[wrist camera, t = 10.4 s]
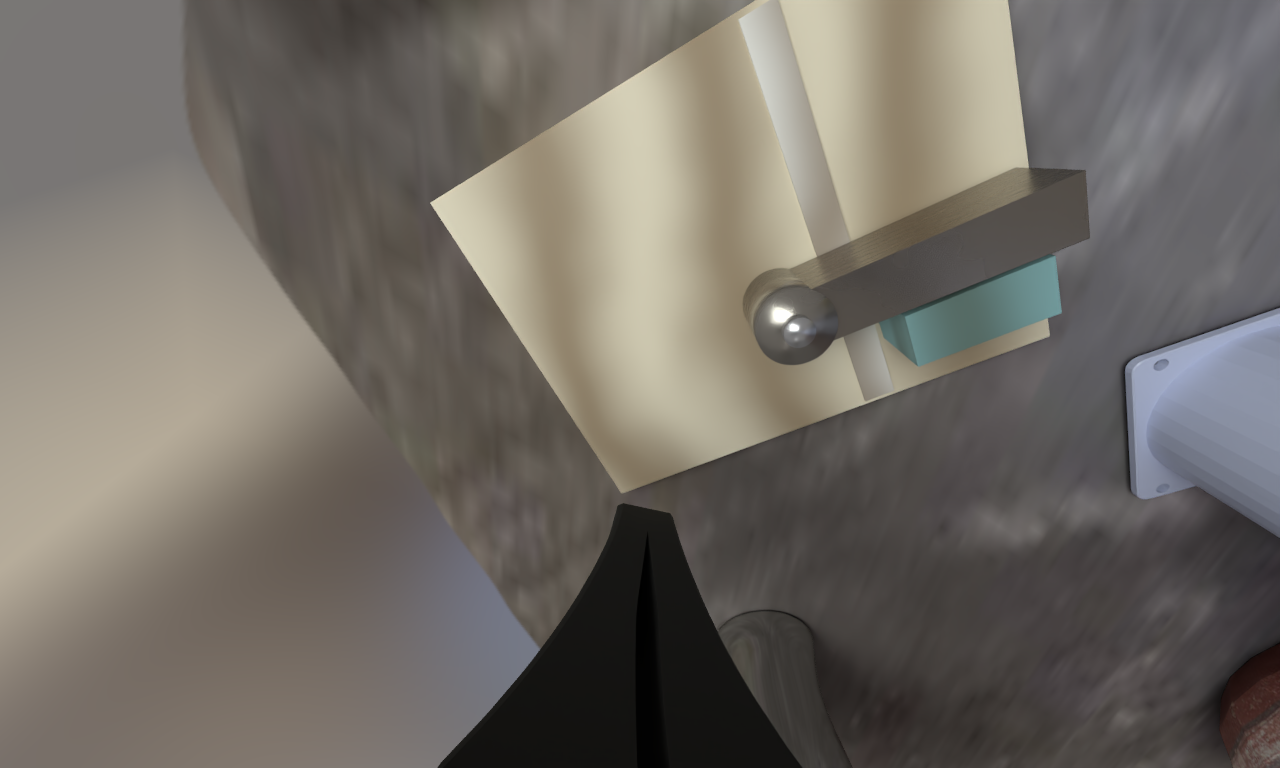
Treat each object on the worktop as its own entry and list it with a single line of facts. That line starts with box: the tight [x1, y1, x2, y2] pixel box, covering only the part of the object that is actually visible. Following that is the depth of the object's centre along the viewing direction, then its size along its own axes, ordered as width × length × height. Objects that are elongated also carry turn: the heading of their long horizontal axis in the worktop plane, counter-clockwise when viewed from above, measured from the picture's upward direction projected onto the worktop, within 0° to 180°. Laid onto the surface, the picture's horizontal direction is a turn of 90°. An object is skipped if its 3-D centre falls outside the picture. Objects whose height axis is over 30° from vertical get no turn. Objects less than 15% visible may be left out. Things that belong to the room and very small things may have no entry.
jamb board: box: [431, 0, 1062, 493], centre depth 16 cm, size 19×15×4 cm
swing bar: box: [743, 167, 1090, 365], centre depth 15 cm, size 10×3×3 cm, turn 116°
